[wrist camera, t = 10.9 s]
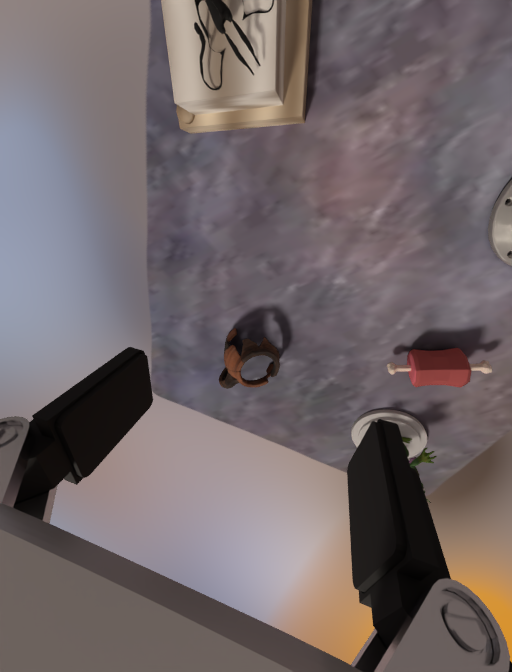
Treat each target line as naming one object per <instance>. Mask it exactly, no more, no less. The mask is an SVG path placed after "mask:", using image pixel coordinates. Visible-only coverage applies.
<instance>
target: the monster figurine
mask: <svg viewBox="0 0 512 672" xmlns="http://www.w3.org/2000/svg"><path fill="white" fill-rule="evenodd" d="M378 419H382V420H386V421H389V422H393V423H396V424H397V425H398V426H399V429H400V433H401V436H402V440H403V443H404V447H405V450H406V454H407V457H408V458H410V457H413V456H415V455H417V454H418V453H419V452H421V451H422V450H423V449H424V450H423V452H422V453H421V455H420V456H419V457H417V458H416V457H414V458H411V459H410V461H409V464H410V467H411V468H413V469H415V470H416V471H417V469H416V467H415V466H416V465H418V464H420V463H421V462H426V463H434V462H432V461H431V459H434V458H435V457H436V456H434V457H431V458H430V457H429V455H430V454H432V453H433V452H434V451H432V452H430V453H426V452H425V450H426V449H427V448H424V447H425V445H426V443H427V435H426V431H425V429H424V427H423V425H422V424H421V423H420V422H419V421H418V420H417V419H416V418H414V417H413V416H411V415H409V414H407V413H404V412H401V411H396V410H375V411H371V412H368V413H365V414H363V415H362V416H360V417H359V418H358V419H357V420H356V421H355V422H354V424H353V426H352V430H351V434H352V440H353V442H354V444H355V445H356V446H357V448H358V446H359V444H360V442H361V440H362V439H363V437H364V435H365V433H366V431H367V429H368V428H369V426H370V424H371V422H372V421H375V422H377V420H378ZM417 473H418V471H417ZM418 475H419V473H418ZM421 484H422V483H421ZM422 487H423V484H422ZM423 490H424V487H423ZM424 493H425V490H424ZM426 500H427V499H426ZM429 502H430V501H429ZM430 503H431V502H430Z"/></svg>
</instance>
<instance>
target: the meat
mask: <svg viewBox="0 0 512 672" xmlns="http://www.w3.org/2000/svg"><path fill="white" fill-rule="evenodd" d="M387 367H388V371H389V373H390V374H394V373H395V372H396V371H408V372H409V377H410V379H411V382H412V384H413V385H414V386H415V387H419V386H425V385H449V386H455V387H462V386H464V385H466V384H467V383H468V382H470V376H471V371H473V370H481V371H482V372H483V373H485V374H487V373H490V372H492V367H491V365H490V364H489V362H488V361H485V360H483V361H482V362H481V363H480V364H469V362H468V359H467V357H466V355H465V354H464V353H463V352H462V351H461V349H459V348H453V349H447V350H437V351H425V350H416V349H413V350H411V351H410V352H409V354H408V358H407V365H395V364H394V363H392V362H391V363H388V365H387Z"/></svg>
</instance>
